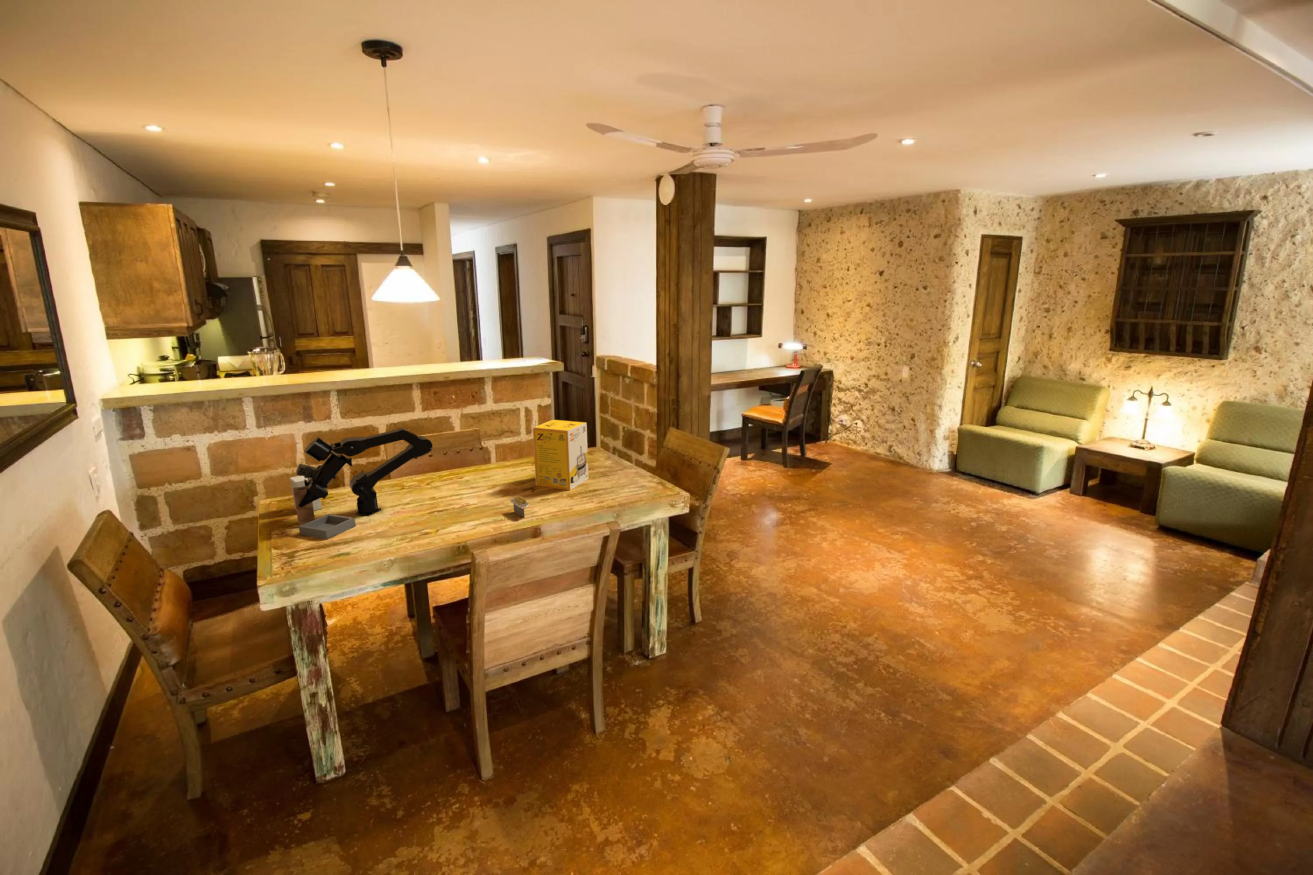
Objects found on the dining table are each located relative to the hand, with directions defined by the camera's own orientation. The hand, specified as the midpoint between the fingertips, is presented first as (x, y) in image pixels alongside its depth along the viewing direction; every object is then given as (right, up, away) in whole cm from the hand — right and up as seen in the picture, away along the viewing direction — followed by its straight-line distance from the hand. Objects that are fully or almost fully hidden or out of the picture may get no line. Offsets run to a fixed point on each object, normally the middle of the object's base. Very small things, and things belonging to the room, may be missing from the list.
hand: (299, 504), depth 210 cm
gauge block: (+1, -6, +2) cm, 7 cm away
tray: (+12, -9, -3) cm, 15 cm away
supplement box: (-6, -4, +17) cm, 18 cm away
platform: (+75, -6, +11) cm, 76 cm away
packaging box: (+85, +4, +46) cm, 97 cm away
